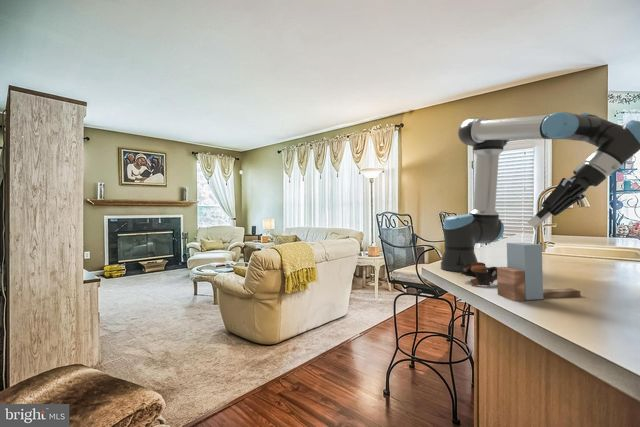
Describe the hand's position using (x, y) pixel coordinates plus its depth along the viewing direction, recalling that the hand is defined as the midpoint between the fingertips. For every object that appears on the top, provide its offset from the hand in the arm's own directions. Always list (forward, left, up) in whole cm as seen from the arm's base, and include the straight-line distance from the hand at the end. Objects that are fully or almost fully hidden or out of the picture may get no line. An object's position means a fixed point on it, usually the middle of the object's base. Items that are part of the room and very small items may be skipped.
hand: (531, 225), depth 101 cm
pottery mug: (-9, -14, -20) cm, 26 cm away
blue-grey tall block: (+8, -18, -20) cm, 28 cm away
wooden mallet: (+10, -14, -20) cm, 26 cm away
